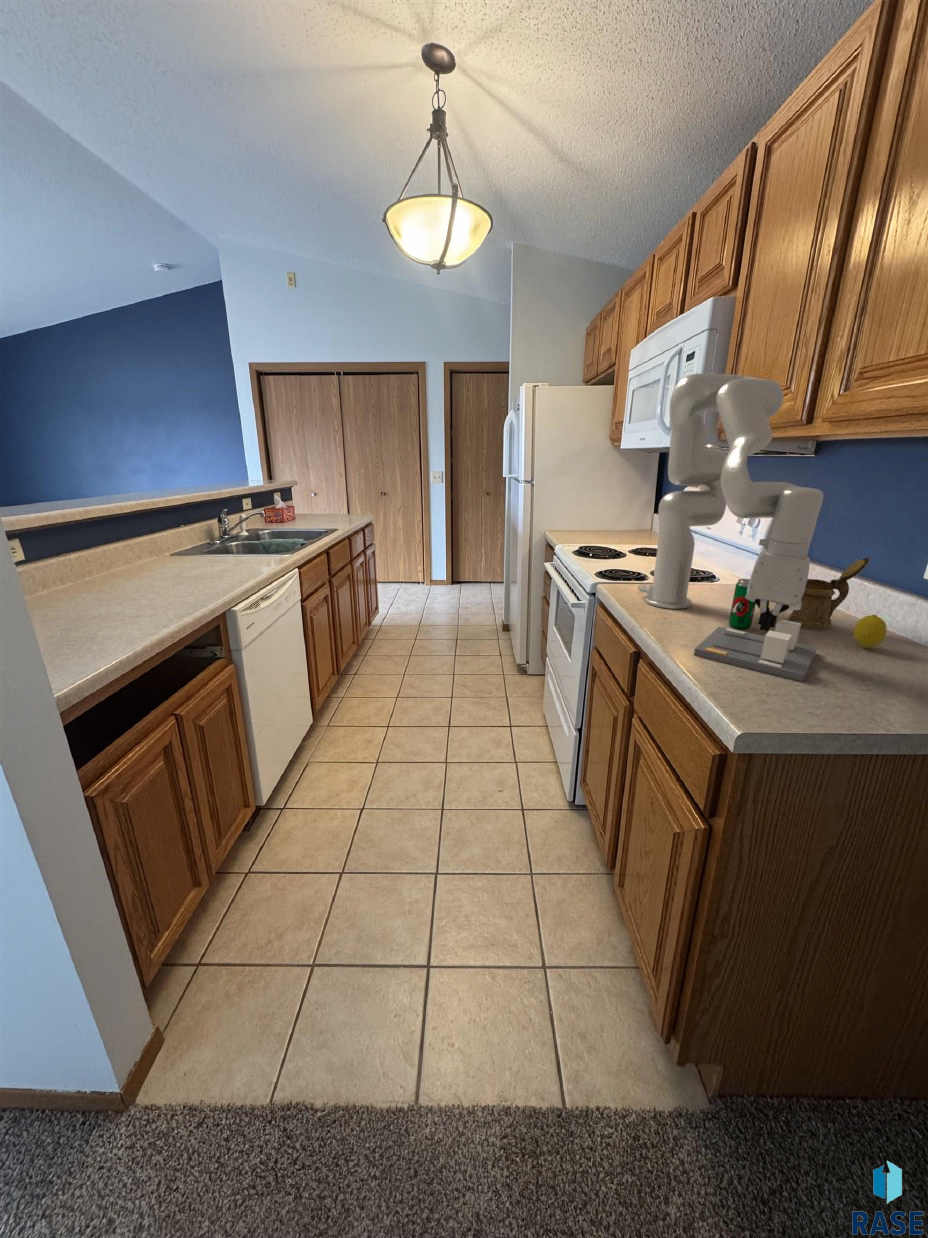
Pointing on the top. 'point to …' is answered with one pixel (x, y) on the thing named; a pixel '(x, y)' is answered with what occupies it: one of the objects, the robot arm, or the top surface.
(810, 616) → the wooden mug
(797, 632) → the back slider
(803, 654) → the switch panel
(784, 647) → the front slider
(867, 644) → the lemon
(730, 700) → the top surface
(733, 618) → the soda can
